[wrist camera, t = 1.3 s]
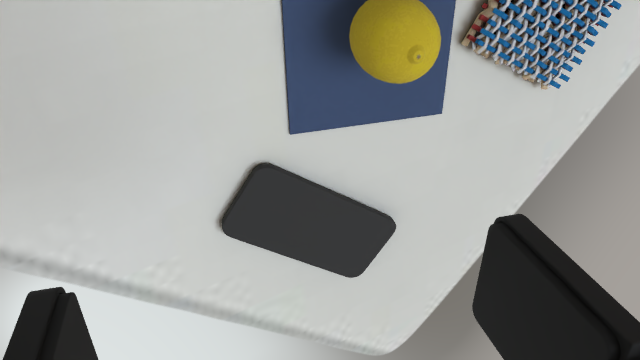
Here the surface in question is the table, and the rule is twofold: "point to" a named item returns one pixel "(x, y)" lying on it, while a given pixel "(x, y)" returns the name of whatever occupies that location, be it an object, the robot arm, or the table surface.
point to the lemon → (395, 39)
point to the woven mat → (537, 34)
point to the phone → (306, 222)
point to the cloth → (351, 70)
